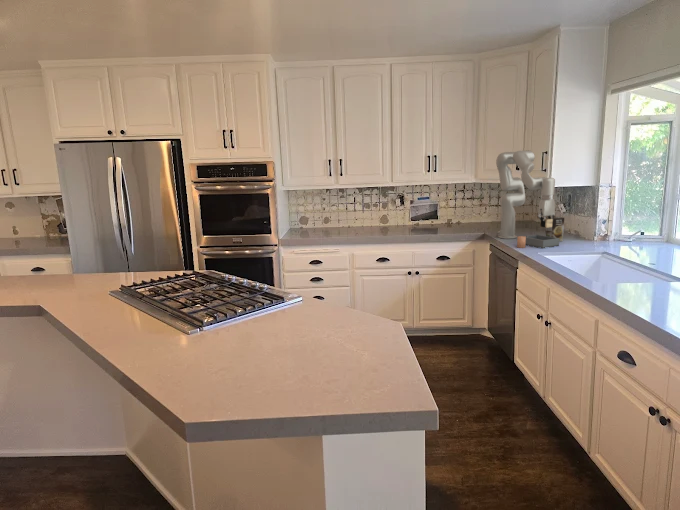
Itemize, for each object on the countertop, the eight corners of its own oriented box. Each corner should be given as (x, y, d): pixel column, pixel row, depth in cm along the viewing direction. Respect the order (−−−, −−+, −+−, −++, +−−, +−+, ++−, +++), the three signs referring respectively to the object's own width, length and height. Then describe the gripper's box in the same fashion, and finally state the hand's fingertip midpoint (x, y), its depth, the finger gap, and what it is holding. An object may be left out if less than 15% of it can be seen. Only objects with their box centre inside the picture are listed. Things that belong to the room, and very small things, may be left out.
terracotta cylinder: (515, 247, 289) (515, 236, 288) (521, 246, 291) (521, 235, 290) (521, 248, 285) (521, 237, 284) (527, 247, 287) (527, 236, 286)
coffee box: (551, 242, 300) (553, 218, 296) (545, 240, 306) (546, 217, 303) (563, 241, 302) (565, 217, 299) (556, 239, 308) (558, 216, 305)
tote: (520, 244, 299) (521, 236, 297) (536, 241, 304) (536, 234, 303) (543, 248, 282) (543, 240, 281) (558, 246, 288) (559, 238, 287)
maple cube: (540, 226, 288) (540, 219, 287) (545, 226, 290) (546, 218, 289) (546, 227, 284) (546, 219, 283) (552, 227, 286) (552, 219, 285)
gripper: (552, 196, 290) (550, 224, 294) (532, 198, 283) (531, 227, 287) (562, 197, 283) (560, 225, 287) (542, 199, 276) (541, 228, 280)
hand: (546, 226), depth 287 cm, fingers closed on maple cube, 4 cm apart
